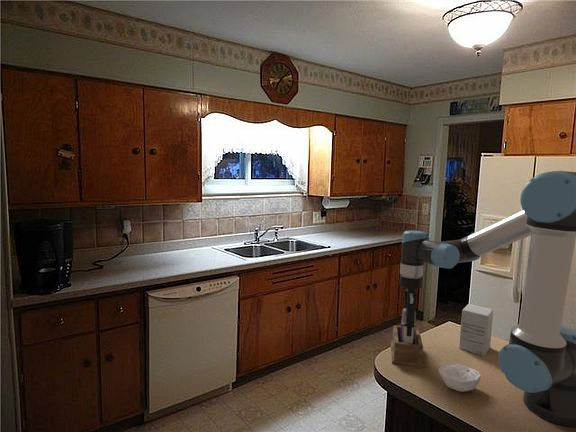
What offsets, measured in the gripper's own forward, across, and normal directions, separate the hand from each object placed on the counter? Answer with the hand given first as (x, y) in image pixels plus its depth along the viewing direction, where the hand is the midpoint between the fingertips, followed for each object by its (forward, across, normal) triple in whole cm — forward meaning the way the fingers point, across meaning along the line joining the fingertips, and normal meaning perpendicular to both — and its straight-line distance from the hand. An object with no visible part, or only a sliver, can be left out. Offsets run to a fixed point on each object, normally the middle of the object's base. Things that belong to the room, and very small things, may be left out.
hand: (407, 338), depth 133 cm
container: (+5, 0, 0) cm, 5 cm away
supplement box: (+6, +12, -25) cm, 29 cm away
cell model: (+6, -18, -14) cm, 23 cm away
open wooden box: (+6, 0, 0) cm, 6 cm away
